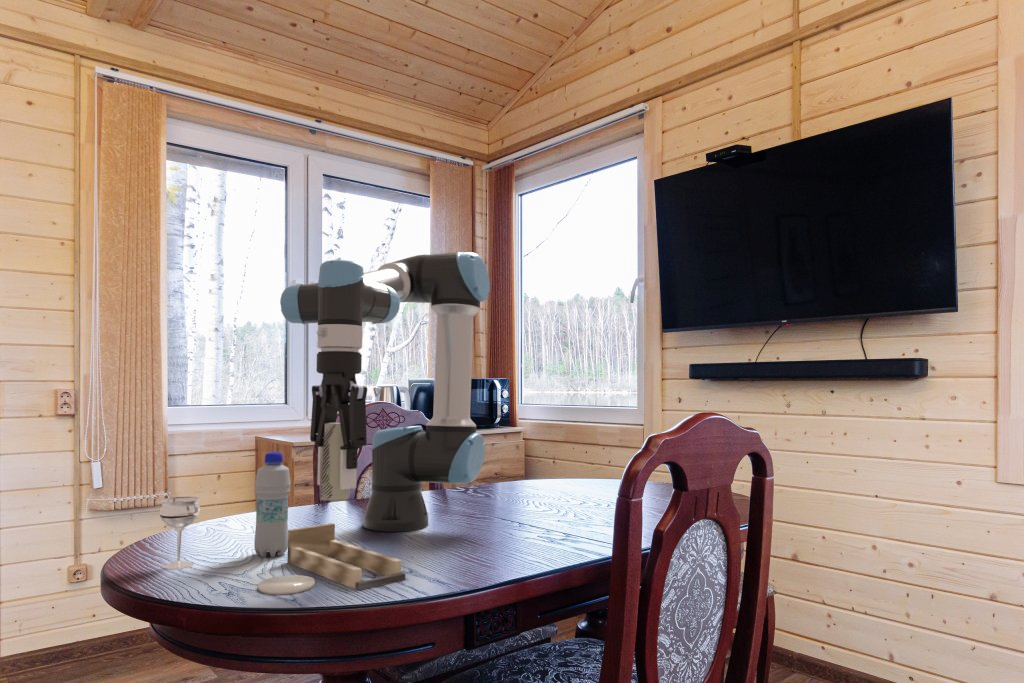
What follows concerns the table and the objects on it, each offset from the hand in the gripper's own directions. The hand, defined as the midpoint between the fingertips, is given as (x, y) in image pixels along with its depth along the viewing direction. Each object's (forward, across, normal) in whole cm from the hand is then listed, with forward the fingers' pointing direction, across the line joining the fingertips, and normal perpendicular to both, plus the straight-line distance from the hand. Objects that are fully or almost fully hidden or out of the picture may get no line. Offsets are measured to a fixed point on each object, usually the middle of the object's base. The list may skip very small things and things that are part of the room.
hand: (336, 486), depth 119 cm
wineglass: (+16, -30, -14) cm, 37 cm away
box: (+2, 0, 0) cm, 2 cm away
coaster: (+16, -4, -7) cm, 18 cm away
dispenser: (+16, -6, +5) cm, 18 cm away
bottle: (+16, -26, +2) cm, 30 cm away
